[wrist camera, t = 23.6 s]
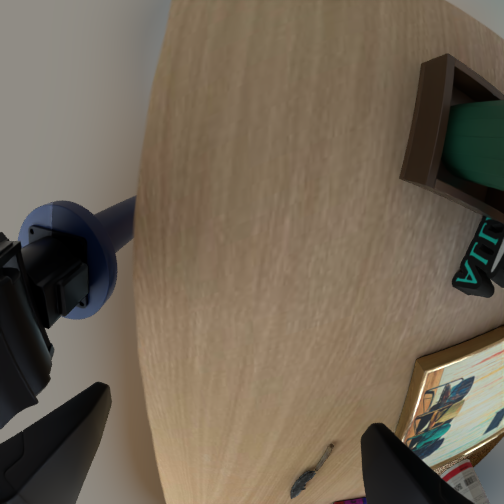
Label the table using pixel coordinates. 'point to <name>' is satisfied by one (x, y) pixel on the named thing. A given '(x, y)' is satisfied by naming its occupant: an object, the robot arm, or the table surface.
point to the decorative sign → (483, 261)
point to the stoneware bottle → (476, 143)
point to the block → (353, 501)
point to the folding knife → (301, 483)
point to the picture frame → (455, 400)
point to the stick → (324, 456)
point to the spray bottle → (465, 482)
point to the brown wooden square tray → (434, 131)
